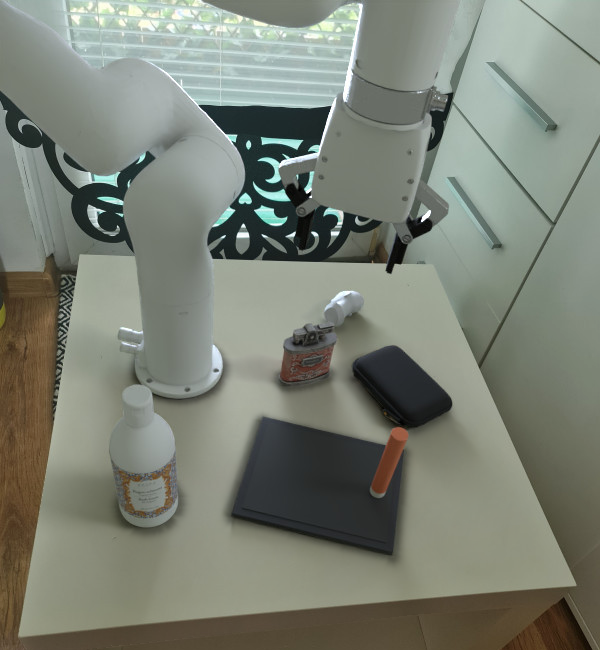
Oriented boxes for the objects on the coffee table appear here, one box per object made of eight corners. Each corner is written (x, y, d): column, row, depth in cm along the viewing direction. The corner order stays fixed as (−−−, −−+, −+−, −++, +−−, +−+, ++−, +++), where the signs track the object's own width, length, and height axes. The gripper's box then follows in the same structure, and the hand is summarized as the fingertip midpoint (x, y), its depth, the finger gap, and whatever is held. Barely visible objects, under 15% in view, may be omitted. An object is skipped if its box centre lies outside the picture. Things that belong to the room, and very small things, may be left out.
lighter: (283, 390, 90) (291, 340, 82) (275, 374, 92) (281, 324, 84) (332, 378, 93) (344, 329, 85) (323, 363, 94) (334, 313, 87)
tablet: (231, 516, 75) (231, 512, 74) (262, 419, 86) (262, 415, 85) (391, 555, 74) (393, 551, 73) (402, 452, 85) (404, 448, 84)
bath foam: (120, 533, 72) (100, 425, 57) (118, 483, 76) (98, 371, 61) (181, 525, 73) (176, 418, 58) (175, 477, 78) (169, 366, 63)
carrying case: (338, 373, 93) (401, 440, 86) (342, 359, 91) (406, 427, 84) (391, 350, 98) (454, 412, 91) (396, 336, 96) (461, 399, 89)
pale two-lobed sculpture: (345, 304, 106) (369, 312, 103) (315, 323, 102) (338, 331, 99) (344, 281, 104) (368, 288, 101) (312, 300, 99) (337, 307, 96)
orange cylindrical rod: (368, 496, 78) (390, 438, 69) (370, 483, 80) (392, 425, 71) (384, 499, 78) (407, 442, 69) (385, 487, 79) (409, 429, 71)
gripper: (483, 102, 56) (426, 256, 69) (301, 56, 57) (278, 217, 70) (481, 137, 51) (420, 296, 64) (282, 86, 52) (261, 254, 65)
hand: (346, 254), depth 67 cm, fingers open, 9 cm apart
